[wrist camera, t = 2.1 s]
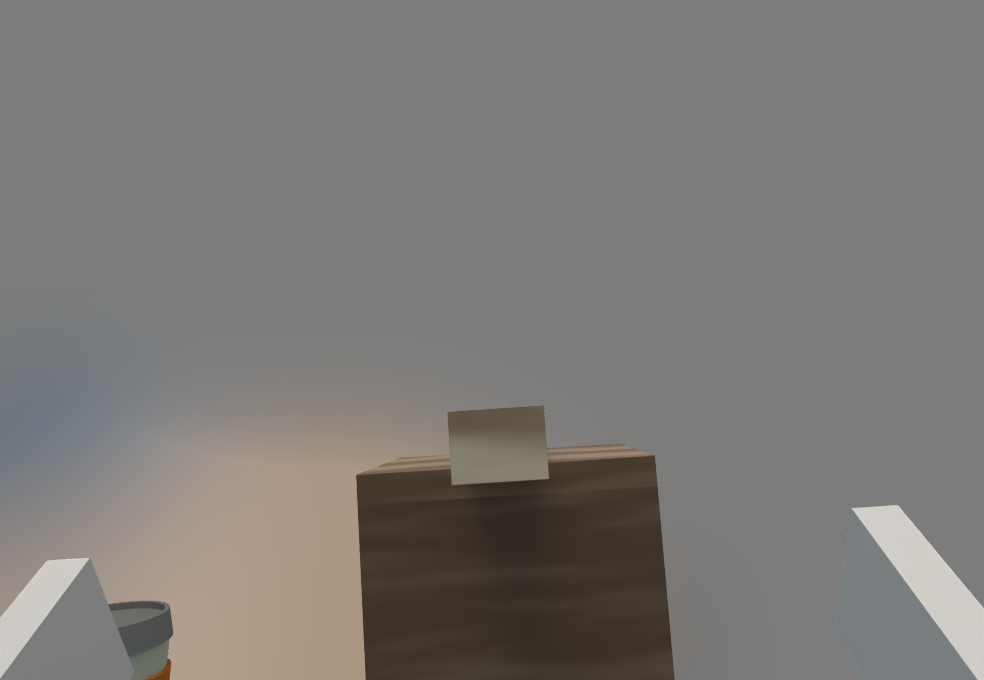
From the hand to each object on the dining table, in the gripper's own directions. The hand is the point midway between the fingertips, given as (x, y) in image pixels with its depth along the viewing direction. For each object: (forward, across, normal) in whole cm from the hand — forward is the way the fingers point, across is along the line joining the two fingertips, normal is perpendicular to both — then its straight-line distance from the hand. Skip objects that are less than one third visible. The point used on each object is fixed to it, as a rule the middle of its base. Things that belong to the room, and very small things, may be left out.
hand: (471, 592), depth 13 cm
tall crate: (+14, 0, -42) cm, 44 cm away
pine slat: (+25, 0, -14) cm, 29 cm away
